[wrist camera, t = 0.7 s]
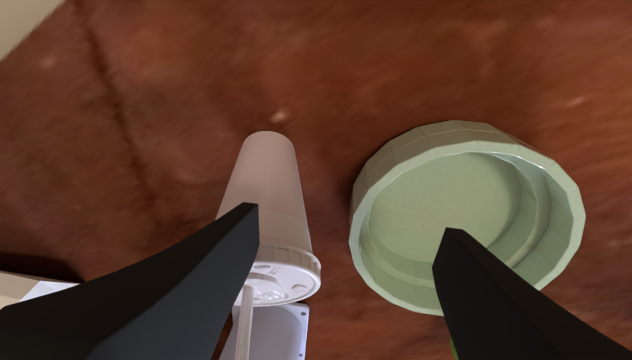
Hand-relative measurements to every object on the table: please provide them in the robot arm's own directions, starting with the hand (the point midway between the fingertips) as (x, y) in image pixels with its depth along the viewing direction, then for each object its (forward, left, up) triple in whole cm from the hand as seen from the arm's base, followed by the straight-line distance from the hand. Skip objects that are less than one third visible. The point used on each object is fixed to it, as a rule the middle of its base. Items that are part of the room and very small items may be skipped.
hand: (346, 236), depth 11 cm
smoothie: (-1, +6, -10) cm, 11 cm away
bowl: (-4, -7, -10) cm, 13 cm away
